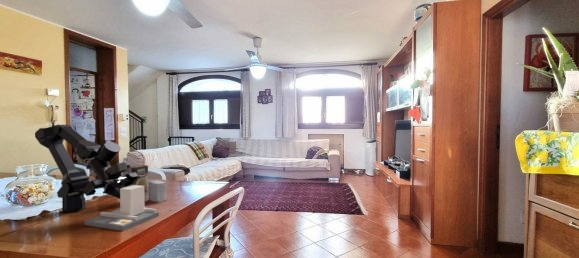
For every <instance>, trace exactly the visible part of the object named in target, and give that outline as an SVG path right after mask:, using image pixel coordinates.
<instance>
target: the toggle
mask: <svg viewBox="0 0 579 258" xmlns="http://www.w3.org/2000/svg"><path fill="white" fill-rule="evenodd" d="M119 202H120V205H119V206H120V208H119V209H120V214H122V215H130V216H135V215H137V214H140V213H143V212H145V208H146V207H145V199H144V186H139V185H133V186H129V187H125V188H121V189H120V199H119Z"/></svg>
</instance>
